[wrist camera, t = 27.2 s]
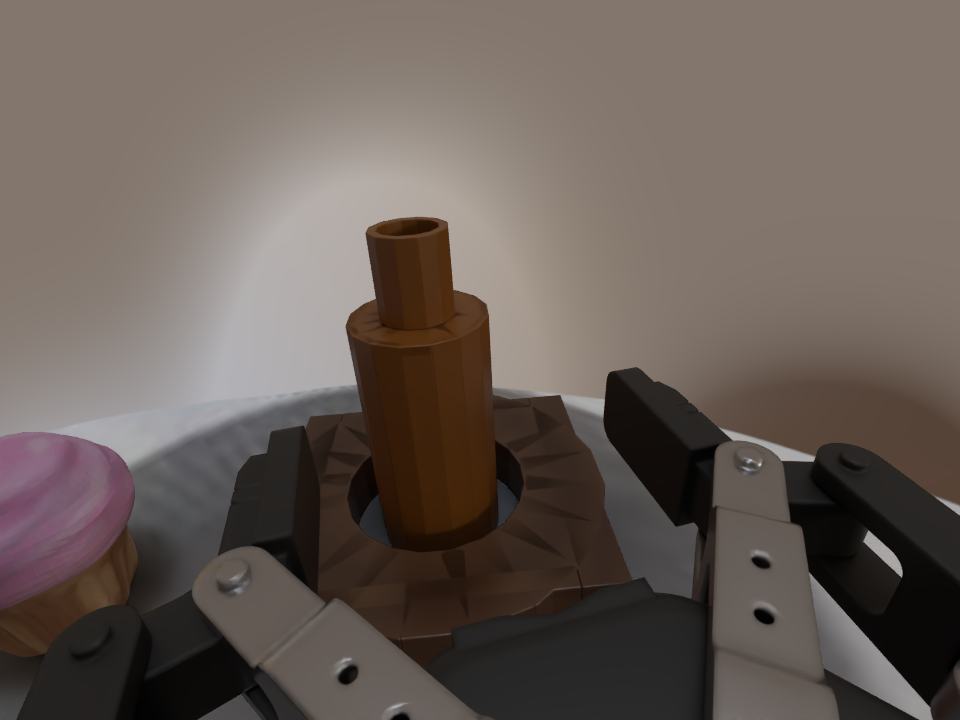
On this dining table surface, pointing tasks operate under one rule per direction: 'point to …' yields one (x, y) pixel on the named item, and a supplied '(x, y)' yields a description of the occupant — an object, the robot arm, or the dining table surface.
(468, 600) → the board
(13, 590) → the cupcake
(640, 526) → the dining table surface
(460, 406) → the bottle
